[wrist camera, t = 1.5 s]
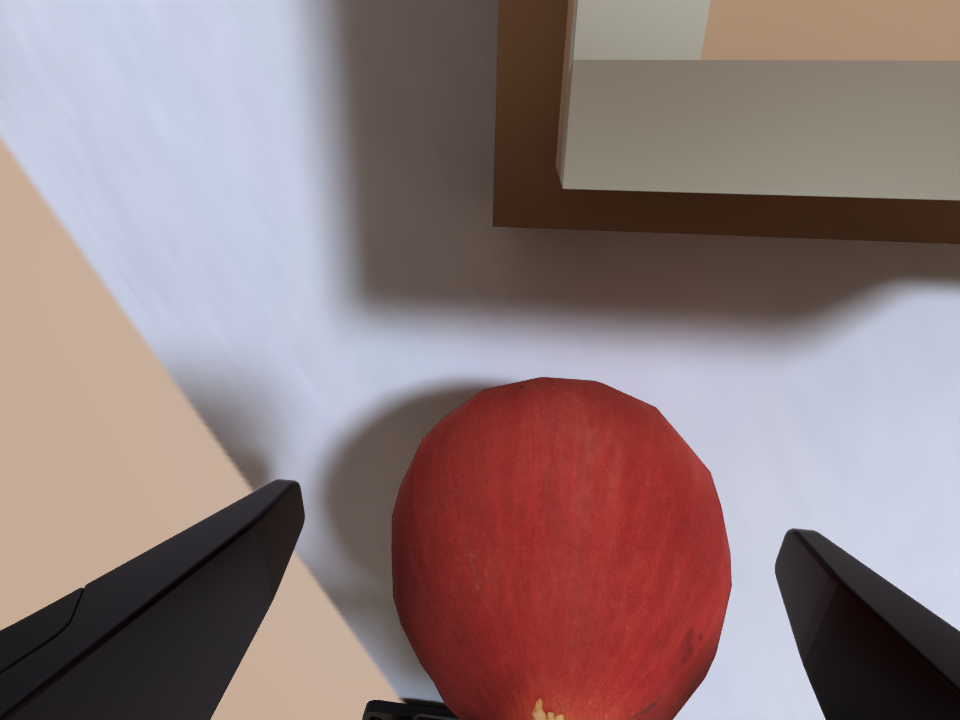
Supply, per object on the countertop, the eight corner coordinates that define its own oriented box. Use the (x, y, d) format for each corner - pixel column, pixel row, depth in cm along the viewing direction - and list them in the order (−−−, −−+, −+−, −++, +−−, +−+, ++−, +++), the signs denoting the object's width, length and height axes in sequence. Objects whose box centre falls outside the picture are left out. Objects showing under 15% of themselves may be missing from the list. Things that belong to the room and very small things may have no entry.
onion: (648, 531, 13) (769, 998, 6) (437, 508, 14) (319, 910, 7) (694, 329, 11) (981, 703, 4) (436, 310, 12) (249, 604, 4)
